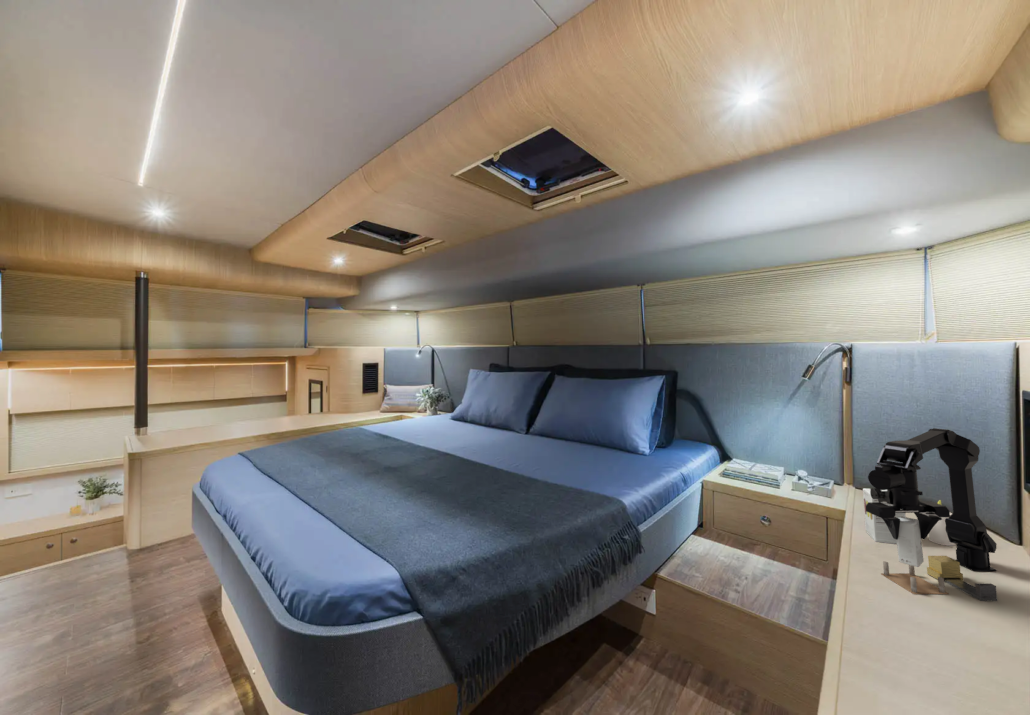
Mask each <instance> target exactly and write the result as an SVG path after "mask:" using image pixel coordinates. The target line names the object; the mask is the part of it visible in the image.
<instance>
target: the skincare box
mask: <svg viewBox="0 0 1030 715" xmlns="http://www.w3.org/2000/svg"><path fill="white" fill-rule="evenodd" d="M899 519H900V527H899V536H898V539H897V544H896V546H897V556H898V562H899V563H901V564H904V565H907V566H909V565H911V566H914V568H918V567H920V566H921V565H922V564H923V563H924V559H925V558H924V552H923V546H922V545H923V543H922V539H921V534H920V527H919V520H918V519H917V518H911V517H907V516H906V517H902V516H901V517H899Z"/></svg>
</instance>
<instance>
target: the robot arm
mask: <svg viewBox="0 0 1030 715" xmlns="http://www.w3.org/2000/svg"><path fill="white" fill-rule="evenodd" d="M932 450H937V451H938V454H939V459H941V461H942V462H943V463H944V464H945V465H946V467H947V468H948V477H949V485H950V497H951V503H952V504H951V505H952V515H951V516H950V512H951V511H950V510H949V508H948V507H947V506H946V505H943V504H941V505H940V504H937V503H938V502H934V501H932V500H931V501H930V500H929V501H920V496H923V495H924V494H923V491H921V490H919V484H918V482H919V481H918V474H917V473H918V472H917V471H919V470H921V466H920V465H918V463H919V462H920V461H922V460H923V459H924V454H925V453H928V452H930V451H932ZM980 453H981V449H980V447H979V446H978V444H976V443H975V442H974V441H973V440H971V439H969V438H967V437H964V436H962V435H960V434H957V433H956V432H955V431H954V430H951V429H946V428H945V429H944V428H935V427H934V428H929V429H928V430H927V431H925V432H924V433H921V434H919V435H916V436H913V437H911V438H909V439H906V440H905V439H904V440H892V441H887V442H886V443H884V445H883V447H882V449H881V451H880V453H879V456H878V458H877V462H876V465H874V469H873V470H870V471H869V473H868V476H867V480H868V481H869V483H870V484H871V486H872V487H873V488H869V489H870V494H871V497H872V498H873V499H878V502H868V503H867V504H866V511H867V512H869V513H871V514H873V515H876V516H878V517H881V518H882V519H883V520H884V522H885V523H886V525H887V527H888V529H889V531H890V533H891V535H892V537H893V538H894V539H896V540H897V539H898V536H899V527H900V519H899V518H897V517H896V514H895V513H905V514H906V513H908V514H910V513H911V514H912V513H913V514H914V515H915V517H916V519H917V520H919V527H920V534H921V540H926V539H927V537H928V536H929V532H930V531H931V530H932V528H933V527H934V526H935V524H936V523H937V522H938V521H939V520H942V518H941V517H949V518H946V519H945V523H946V533H947V535H948V538H949V541H950V542H951V543H955V545H956V549H955V555H956V557H955V558H956V559H955V560H956V561H958V562H960V566H962V567H965V568H966V569H968V570H970V571H973V572H997V568H994V567H991V561H990V554H991V553H992V554H995V553H996V550H997V543H996V541H995V540H994V539H993V538H992V537H991V536H990V535H989V533H988V531H987V530H988V529H987V527H986V524H985V523H984V522H983V521H982V520H981V519H980V517H979V516H978V515H977V507H976V501H975V500H976V498H975V490H974V479H973V471H972V470H973V469H972V468H973V467H974V466H975V465H976V464H977V463H978V461H979V456H980ZM881 490H887V491H881ZM881 502H887V503H888V504H892V505H893V506H888V505H886V504H883V503H881Z"/></svg>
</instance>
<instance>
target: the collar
mask: <svg viewBox="0 0 1030 715" xmlns="http://www.w3.org/2000/svg"><path fill="white" fill-rule="evenodd" d="M927 559H928V560H927V562H928V566H926V573H927V575H929V576H931V577H933V579H936V580H938V577H942V578H959V579H961V580H963V581H964V574H963V573H961V565H960V562H958V561H956V560H957V559H955V558H952V557H950V556H947V555H928V556H927Z"/></svg>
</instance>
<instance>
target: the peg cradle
mask: <svg viewBox="0 0 1030 715" xmlns="http://www.w3.org/2000/svg"><path fill="white" fill-rule="evenodd" d="M882 565H883V566H882V568H883V573H880V574H881V575H882V576H883V577H885V578H886V579H889V580H890V581H892V582H893V583H895V584H897V585H898V586H900V587H901V588H903V589H904V590H906V591H908V592H909V593H911V594H912V595H950V594H949V592H947V591H946V586H945V582H944V578H942V577H938V579H937V583H938V584H937V585H938V586H936V585H935V584H932V583H931V582H929V581H927V580H925V579H924V578H922V577H920V576H918V575H916V572H915V566H911V565H908V572H907V573H905V572H904V573H902V572H901V573H891V572H890V568H889V567H890V566H889V562H888V561H882Z"/></svg>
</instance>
